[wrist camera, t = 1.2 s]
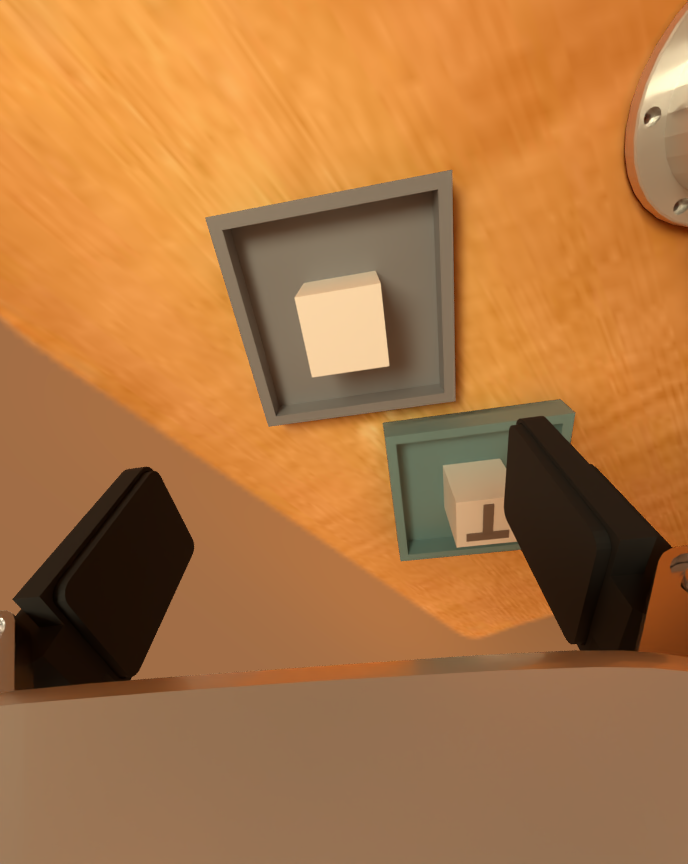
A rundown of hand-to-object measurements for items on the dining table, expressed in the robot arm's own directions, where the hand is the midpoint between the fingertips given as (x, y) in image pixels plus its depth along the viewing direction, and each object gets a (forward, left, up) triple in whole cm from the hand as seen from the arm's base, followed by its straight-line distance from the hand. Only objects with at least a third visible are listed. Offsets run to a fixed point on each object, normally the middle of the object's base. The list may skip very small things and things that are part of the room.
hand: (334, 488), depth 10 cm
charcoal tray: (0, 0, -20) cm, 20 cm away
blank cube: (0, 0, -20) cm, 20 cm away
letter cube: (-9, +17, -20) cm, 28 cm away
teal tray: (-9, +17, -20) cm, 28 cm away
